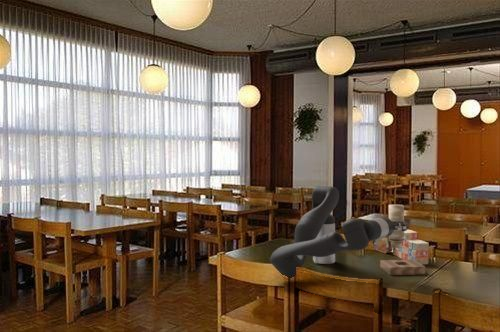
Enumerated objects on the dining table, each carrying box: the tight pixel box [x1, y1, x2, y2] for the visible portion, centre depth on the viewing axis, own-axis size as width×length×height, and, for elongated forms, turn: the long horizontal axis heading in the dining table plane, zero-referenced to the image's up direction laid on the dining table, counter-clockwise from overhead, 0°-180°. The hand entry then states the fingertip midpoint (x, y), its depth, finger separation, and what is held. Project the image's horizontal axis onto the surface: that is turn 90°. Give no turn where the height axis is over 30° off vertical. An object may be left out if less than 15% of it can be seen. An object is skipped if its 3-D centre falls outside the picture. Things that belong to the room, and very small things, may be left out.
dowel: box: [388, 204, 405, 249], centre depth 180 cm, size 6×6×16 cm
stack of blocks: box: [392, 229, 430, 265], centre depth 211 cm, size 21×6×12 cm, turn 9°
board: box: [379, 259, 426, 276], centre depth 191 cm, size 14×12×3 cm
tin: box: [372, 236, 393, 254], centre depth 227 cm, size 15×3×8 cm, turn 13°
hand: (399, 222), depth 182 cm, fingers closed on dowel, 5 cm apart
